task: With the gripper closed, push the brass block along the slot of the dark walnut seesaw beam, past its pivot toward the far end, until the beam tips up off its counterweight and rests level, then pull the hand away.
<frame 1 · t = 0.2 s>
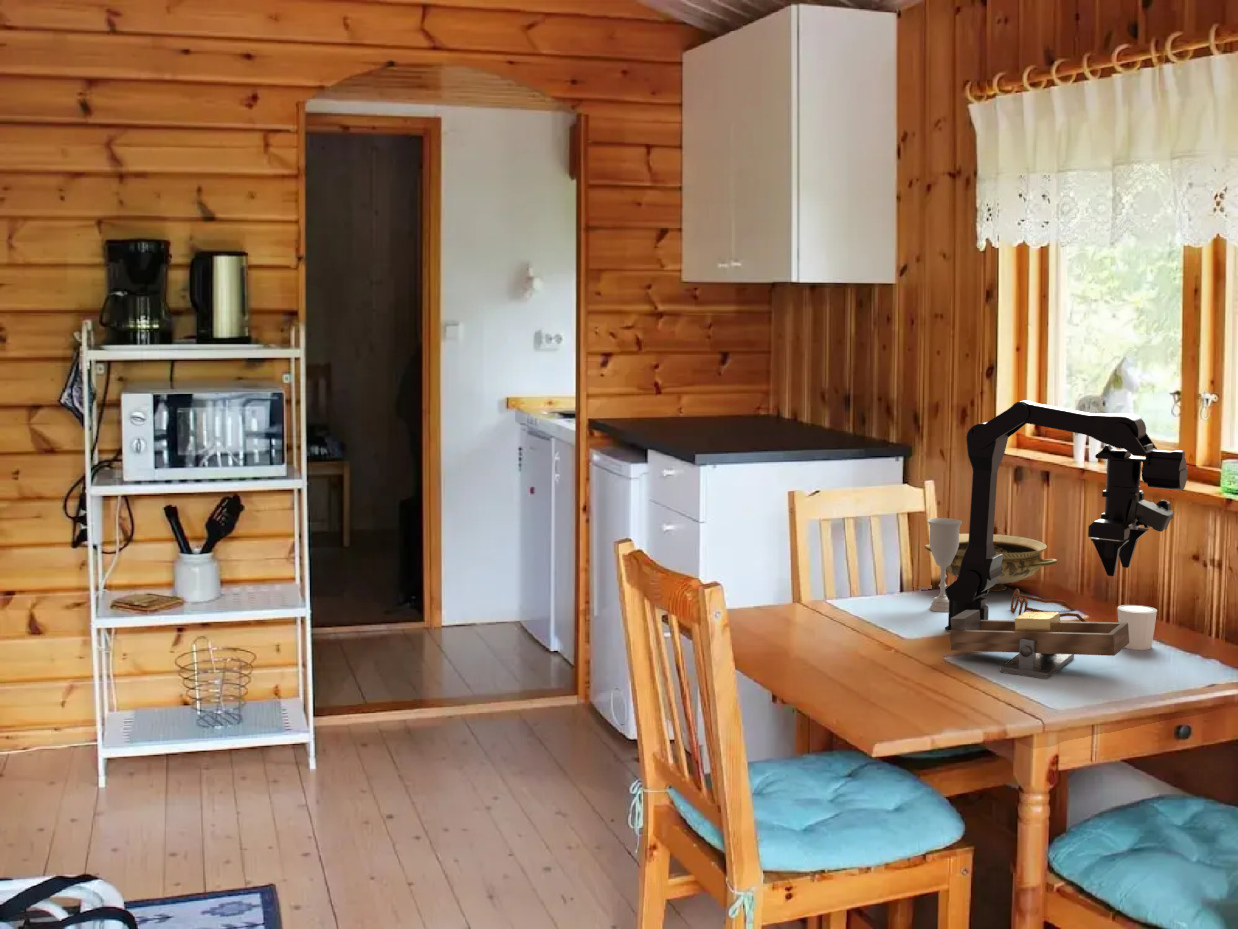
hand: (1118, 571, 261), 14 cm above the table, fingers open, 9 cm apart
beam: (1037, 631, 253), point 6 cm above the table, hinge at -6.4°, touching brass block
pivot stand: (1037, 665, 253), on the table
ceramic bowl: (987, 588, 316), on the table
white cup: (1135, 647, 267), on the table
glasses: (1048, 620, 289), on the table
brass block: (1038, 638, 253), point 5 cm above the table, tilted 6°, touching beam
chalice: (942, 610, 296), on the table
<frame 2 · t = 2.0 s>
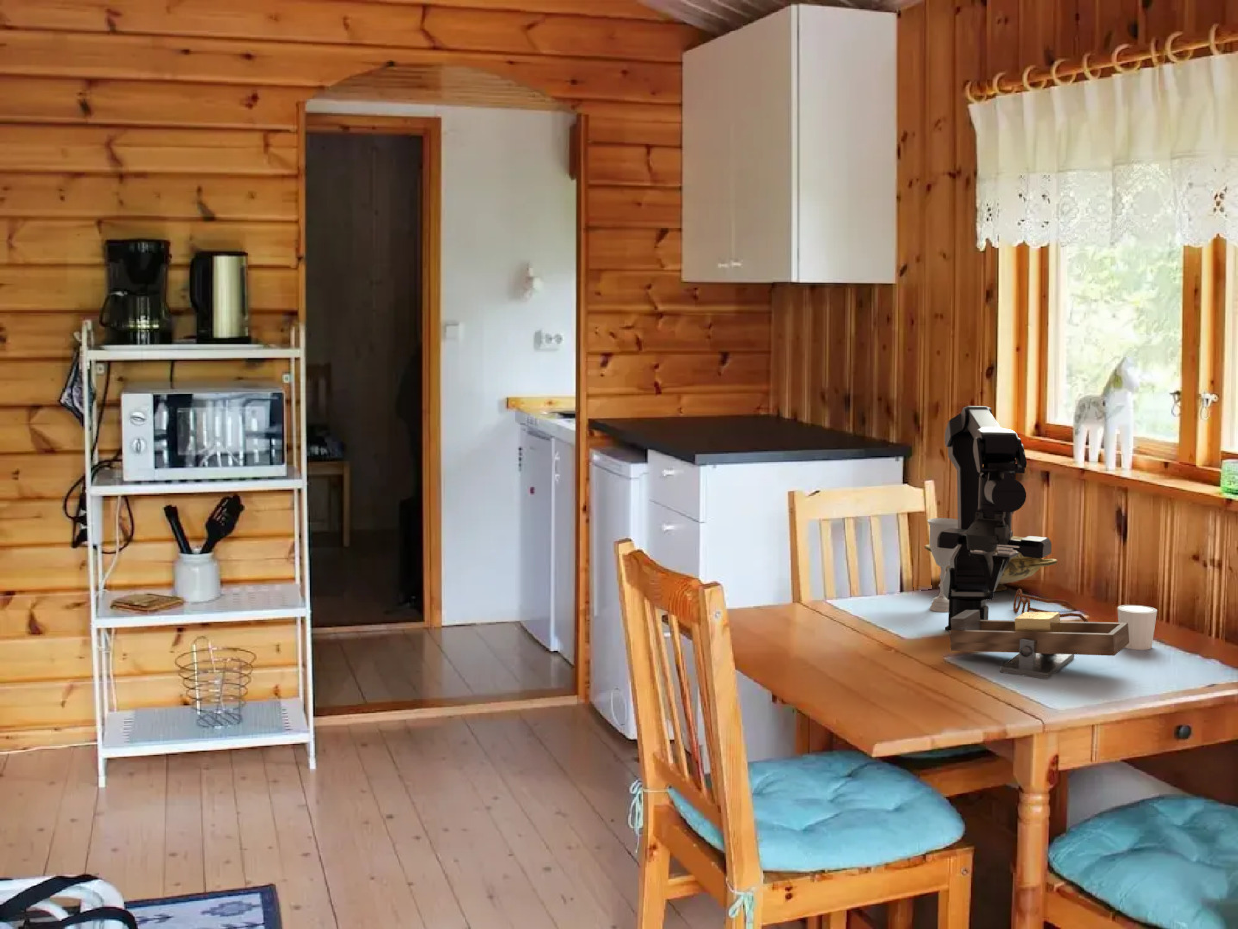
hand: (992, 591, 256), 12 cm above the table, fingers closed
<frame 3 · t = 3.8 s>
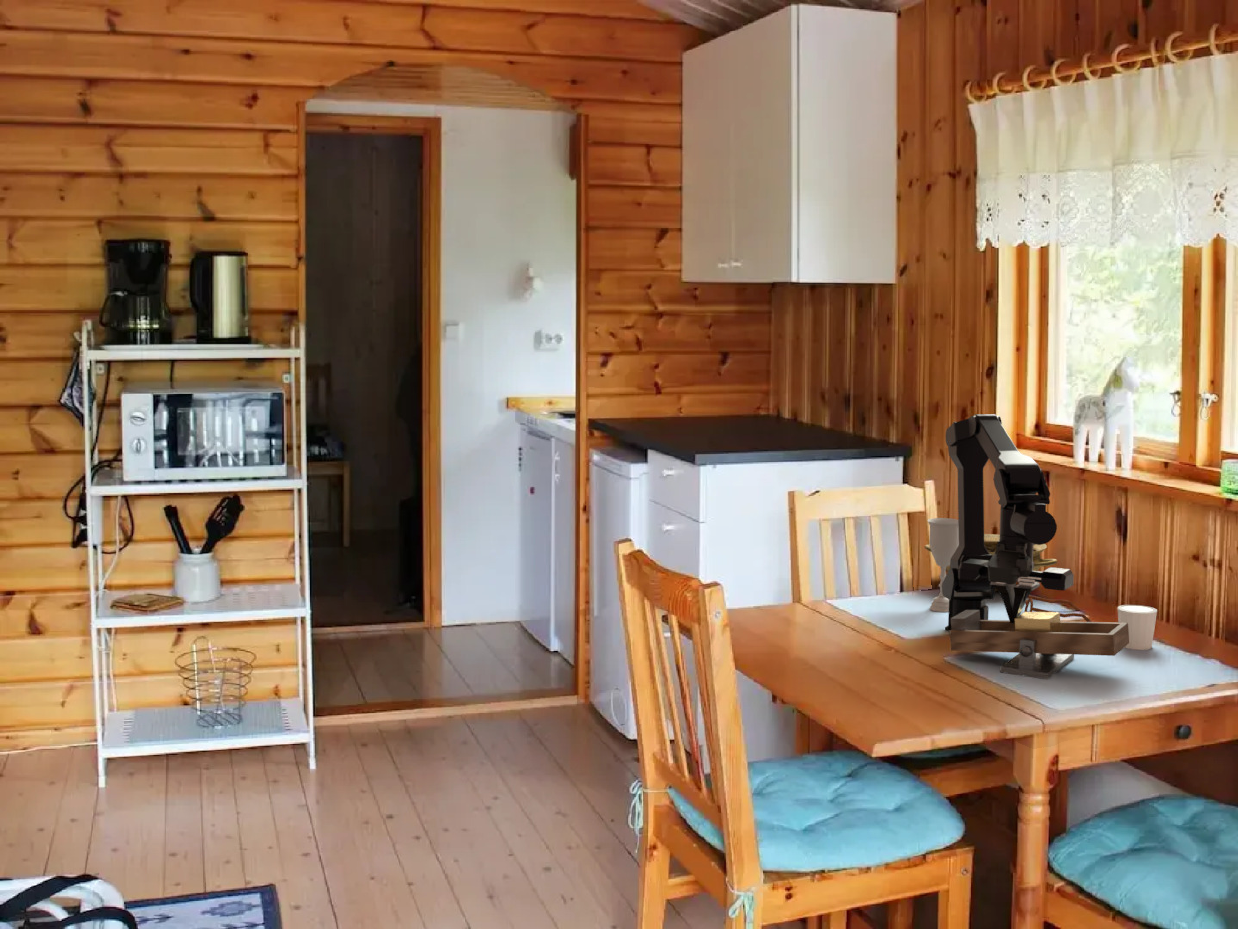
hand: (1013, 622, 255), 7 cm above the table, fingers closed
brass block: (1038, 638, 253), point 5 cm above the table, tilted 6°, touching beam, gripper
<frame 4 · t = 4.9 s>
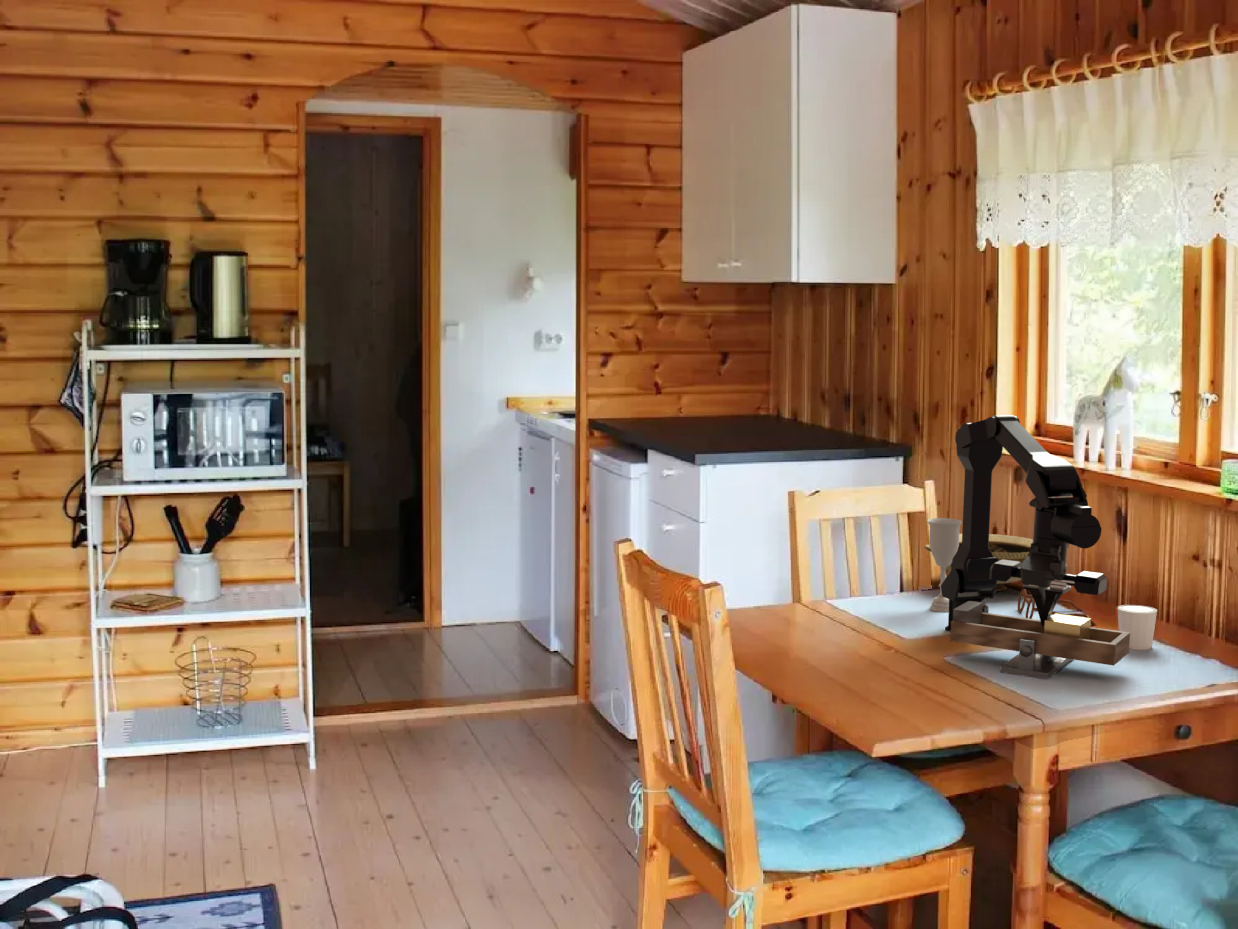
hand: (1044, 625, 252), 7 cm above the table, fingers closed
beam: (1039, 631, 253), point 6 cm above the table, hinge at 0.5°
brass block: (1066, 642, 250), point 5 cm above the table, touching gripper
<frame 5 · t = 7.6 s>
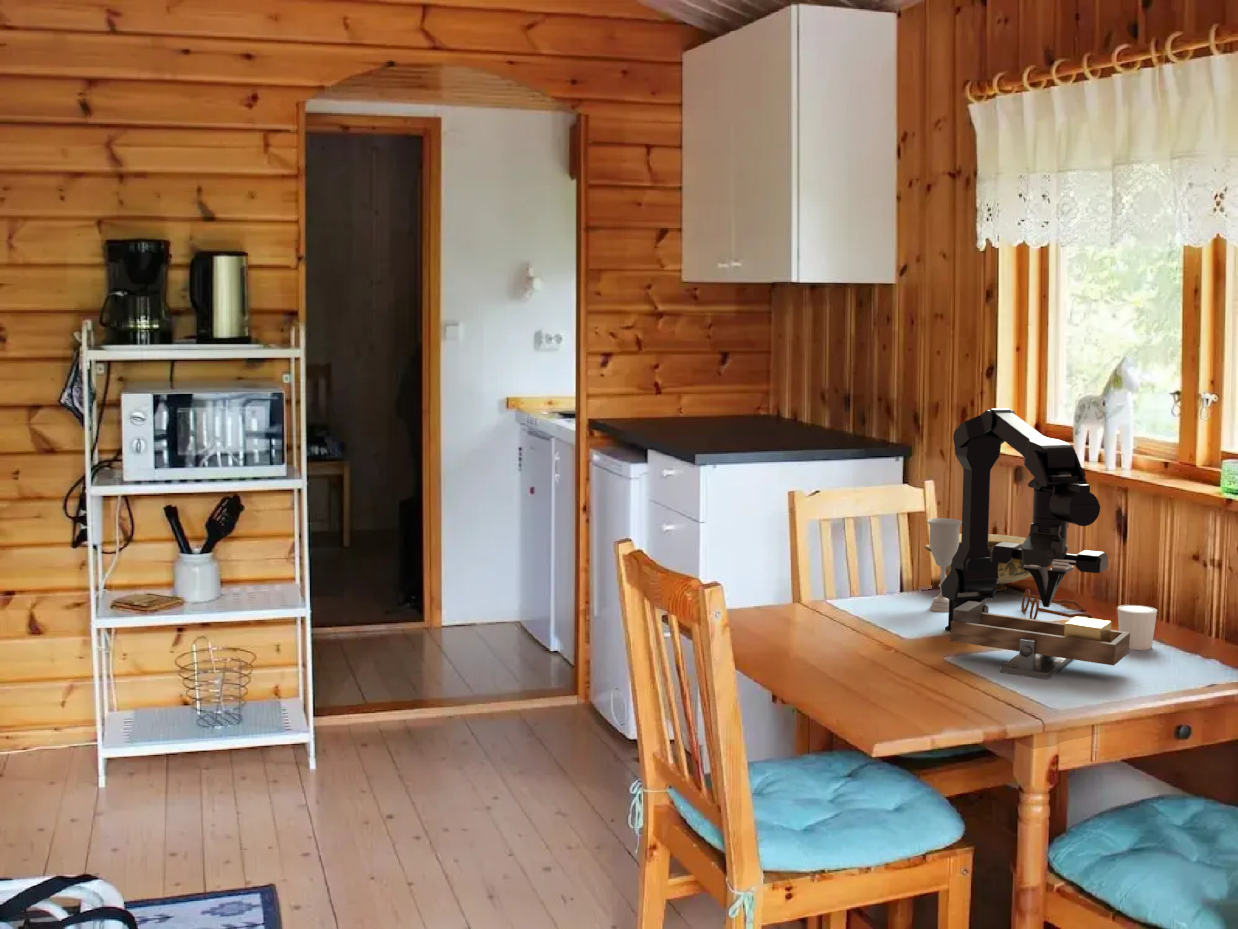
hand: (1046, 606, 251), 10 cm above the table, fingers closed
beam: (1039, 631, 253), point 6 cm above the table, hinge at 0.5°, touching brass block
brass block: (1086, 645, 248), point 5 cm above the table, touching beam
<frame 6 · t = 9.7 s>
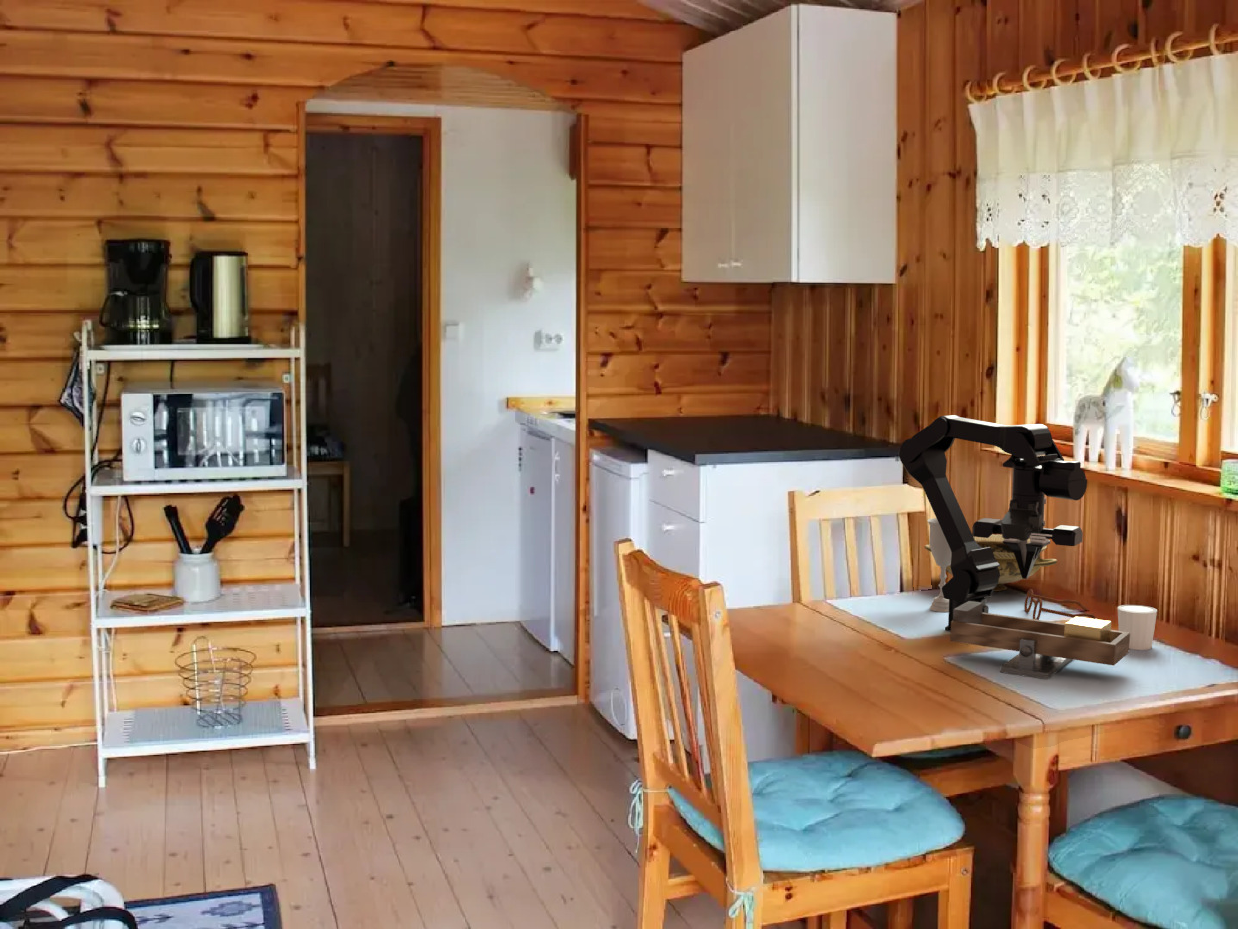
hand: (1025, 578, 267), 12 cm above the table, fingers closed
at the end: beam at +0° (first picture: -6°); brass block 0.3 cm from the target spot on the beam, point 0.7 cm above the beam's base; brass block tilted 0° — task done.
